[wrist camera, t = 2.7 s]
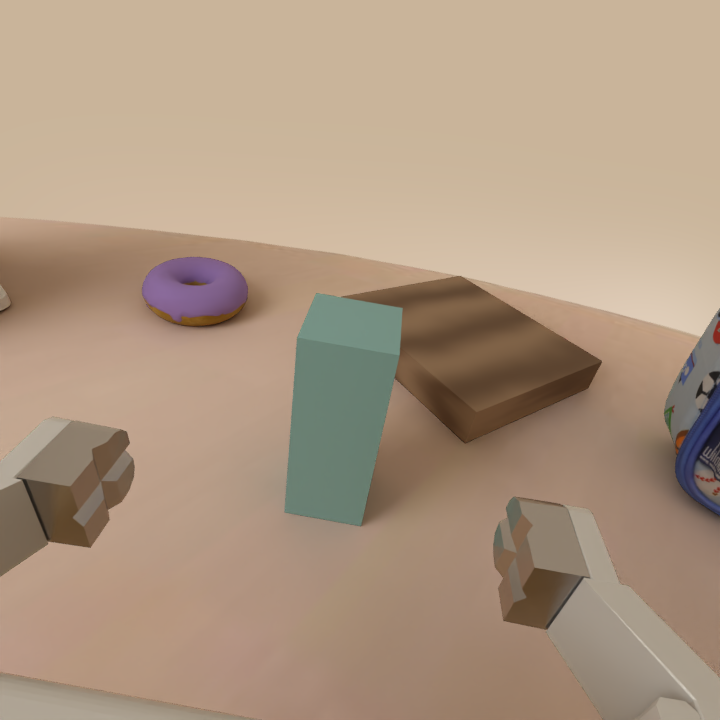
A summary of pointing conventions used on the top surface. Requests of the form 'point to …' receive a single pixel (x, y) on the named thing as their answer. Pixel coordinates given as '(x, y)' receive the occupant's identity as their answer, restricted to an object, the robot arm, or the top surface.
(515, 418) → the walnut riser
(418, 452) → the top surface
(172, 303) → the donut
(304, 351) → the teal block
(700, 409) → the lunch box
